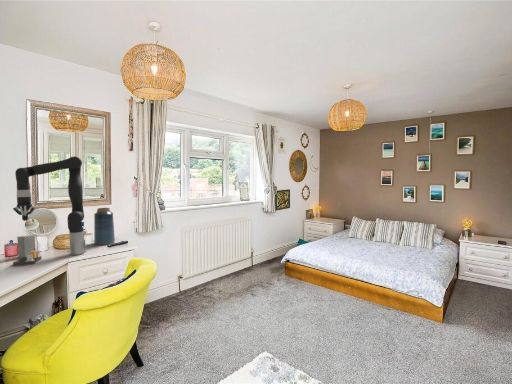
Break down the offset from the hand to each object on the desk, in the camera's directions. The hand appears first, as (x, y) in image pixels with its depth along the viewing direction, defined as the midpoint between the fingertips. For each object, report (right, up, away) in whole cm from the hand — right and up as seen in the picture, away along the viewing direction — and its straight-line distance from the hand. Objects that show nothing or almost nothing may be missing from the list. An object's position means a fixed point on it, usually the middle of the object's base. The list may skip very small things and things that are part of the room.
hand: (25, 220), depth 187 cm
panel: (+3, -29, -1) cm, 29 cm away
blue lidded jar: (+27, -26, +51) cm, 64 cm away
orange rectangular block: (+6, -27, -1) cm, 28 cm away
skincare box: (-10, -29, +13) cm, 33 cm away
